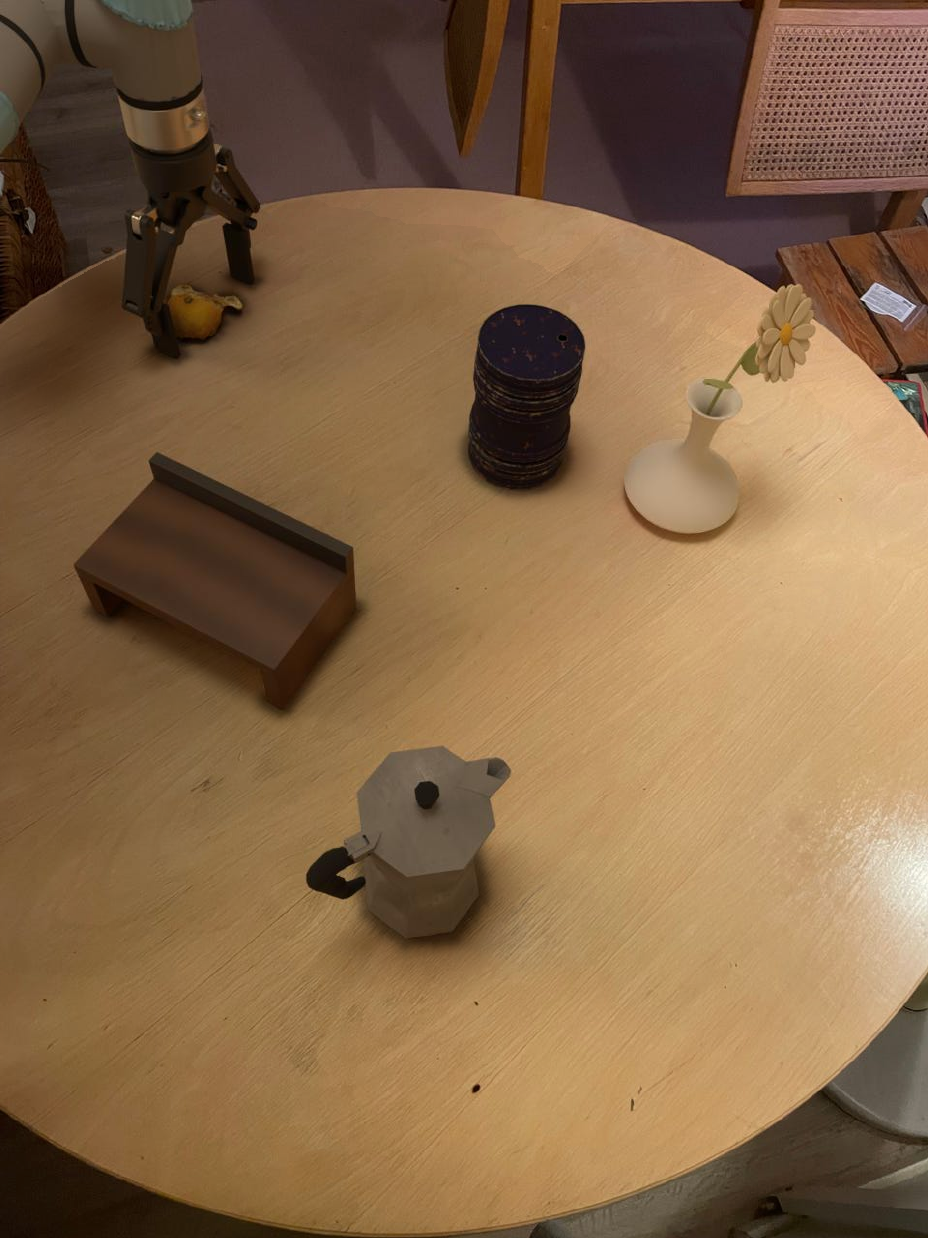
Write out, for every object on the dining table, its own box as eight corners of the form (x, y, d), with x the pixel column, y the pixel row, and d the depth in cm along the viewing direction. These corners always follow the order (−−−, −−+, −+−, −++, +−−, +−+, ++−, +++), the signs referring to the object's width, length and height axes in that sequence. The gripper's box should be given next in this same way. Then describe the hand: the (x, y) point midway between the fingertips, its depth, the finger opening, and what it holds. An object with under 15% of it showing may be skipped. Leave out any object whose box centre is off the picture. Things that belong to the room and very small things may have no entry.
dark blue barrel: (477, 496, 102) (489, 387, 89) (457, 422, 107) (465, 308, 94) (575, 484, 103) (600, 374, 90) (550, 411, 108) (571, 298, 96)
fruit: (248, 300, 114) (243, 273, 111) (221, 352, 110) (216, 325, 107) (176, 286, 115) (170, 258, 112) (147, 336, 111) (140, 309, 107)
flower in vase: (656, 557, 99) (728, 363, 78) (600, 471, 104) (653, 268, 83) (770, 517, 102) (869, 321, 81) (710, 436, 108) (788, 232, 86)
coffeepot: (460, 792, 85) (475, 688, 70) (524, 889, 81) (554, 801, 66) (291, 887, 80) (267, 797, 65) (350, 996, 76) (339, 927, 61)
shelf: (282, 710, 88) (271, 654, 80) (93, 609, 92) (65, 547, 84) (356, 608, 94) (353, 546, 86) (175, 517, 98) (156, 451, 90)
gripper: (115, 219, 88) (163, 398, 106) (280, 79, 100) (298, 261, 118) (45, 189, 89) (104, 370, 107) (216, 55, 102) (244, 238, 120)
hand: (206, 313), depth 113 cm, fingers open, 13 cm apart
